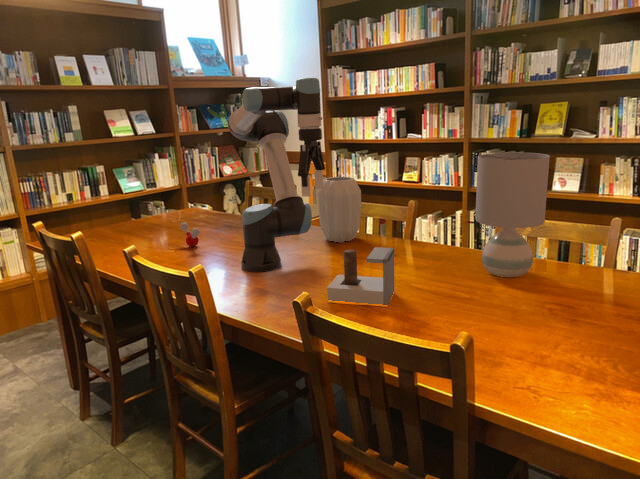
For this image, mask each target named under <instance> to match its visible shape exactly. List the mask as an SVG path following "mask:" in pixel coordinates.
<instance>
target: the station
mask: <svg viewBox="0 0 640 479" xmlns="http://www.w3.org/2000/svg"><path fill="white" fill-rule="evenodd" d="M366 263H367V264H368V263H371V264H382V277H379V276H377V277H376V276H365V275H357V285H358V286H352V285H345V278H344V274H337V275H336V276H335V277H334V279H333V280H332V281H331V282H330V284H329V285H328V286H327V287H326V288H327V290H326V291H327V292H326V293H327V294H326V295H327V301H328V300H332V301H345V302H356V303H368V304H382V305H388V303H389V301H390V299H391V297H392V295H393V292H394V293H395V248H394V247H378V246H375V247H374V248H373V249H372V250H371V252H370V253H369V255H368V256H367V257H366ZM393 296H394V295H393ZM392 298H393V297H392ZM391 300H392V299H391ZM390 302H391V301H390ZM389 304H390V303H389Z"/></svg>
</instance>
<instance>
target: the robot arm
mask: <svg viewBox="0 0 640 479" xmlns="http://www.w3.org/2000/svg"><path fill="white" fill-rule="evenodd" d="M319 80H320V79H319V78H318V77H303V78H302V77H301V78H297V79H296V81H295V85H293V86H262V87H257V86H253V87H247V88H245V89H244V90H243V91H242V104H241V106H240V107H239V108H238V109H237V110H234V111H233V112H232V113H231V114H230V115H229V117H228V118H227V119H228V120H227V129H228V130H229V132H230V133H231V135H233V136H234V137H235V138H237V139H238V140H240V141H245V142H252V141H254V142H255V141H257V143H258V146H259V148H262V149H263V151H264V156H265V159H266V163H267V168H268V172H269V176H270V180H271V184H272V188H273V193H274V197H275V202H273V205H272V204H271V203H260V204H259V203H258V204H255V205H252V206H248V207H247V208H245V209H244V210H243V211H242V213H241V224H242V231H243V232H242V233H243V242H244V243H243V245H244V249H243V254H242V258H241V262H240V263H241V269H242V270H244V271H247V272H250V273H251V272H253V273H254V272H255V273H256V272H257V273H258V272H259V273H260V272H261V273H262V272H268V271H273V270H276V269H278V268H280V267H281V266H282V261H281V260H282V259H281V256H280V253H279V252H278V251H279V250H278V249H277V246H276V241H275V240H276V238H283V237H289V236H290V237H291V236H294V235H297V236H299V235H301V234H306V233H308V232H309V230H310V229H311V226H312V221H313V220H312V219H313V217H312V208H311V206H310V204H309V203H307V202H304V200H303V197H306V198H307V197H311V195H312V194H311V193H312V192H311V180H310V179H311V176H310V174H309V173H310V170H311V165H312V163H313V166H314V169H315V170H314V189H315V190H318V189H323V180H324V176H323V175H324V174H323V173H324V172H323V171H325V170H326V167H325V166H326V165H325V162H324V156H323V152H322V144H321V141H320V140H322V138H323V133H322V132H323V131H322V128H320V127H321V126H322V120H323V116H322V114H321V113H322V112H321V110H322V107H321V88H320V86H321V85H320V81H319ZM291 110H292V111H294V110H296V111H297V127H298V128H299V129H298V140H299V141H301V142H304V143H303V144H300V146H299V148H300V149H299V161H298V172H297V176H298V177H300V182H301V183H300V185H301V196H300V195H298V191H297V188H296V187H297V186H296V184H295V180H294V176H293V173H292V169H291V164H290V162H289V156H288V153H287V149H286V146H285V143H286V142H287V138H288V136H289V135H290V134H289V132H290V129H289V122H288V119H287V116H286V115H285V113H284V112H283V111H291Z"/></svg>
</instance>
